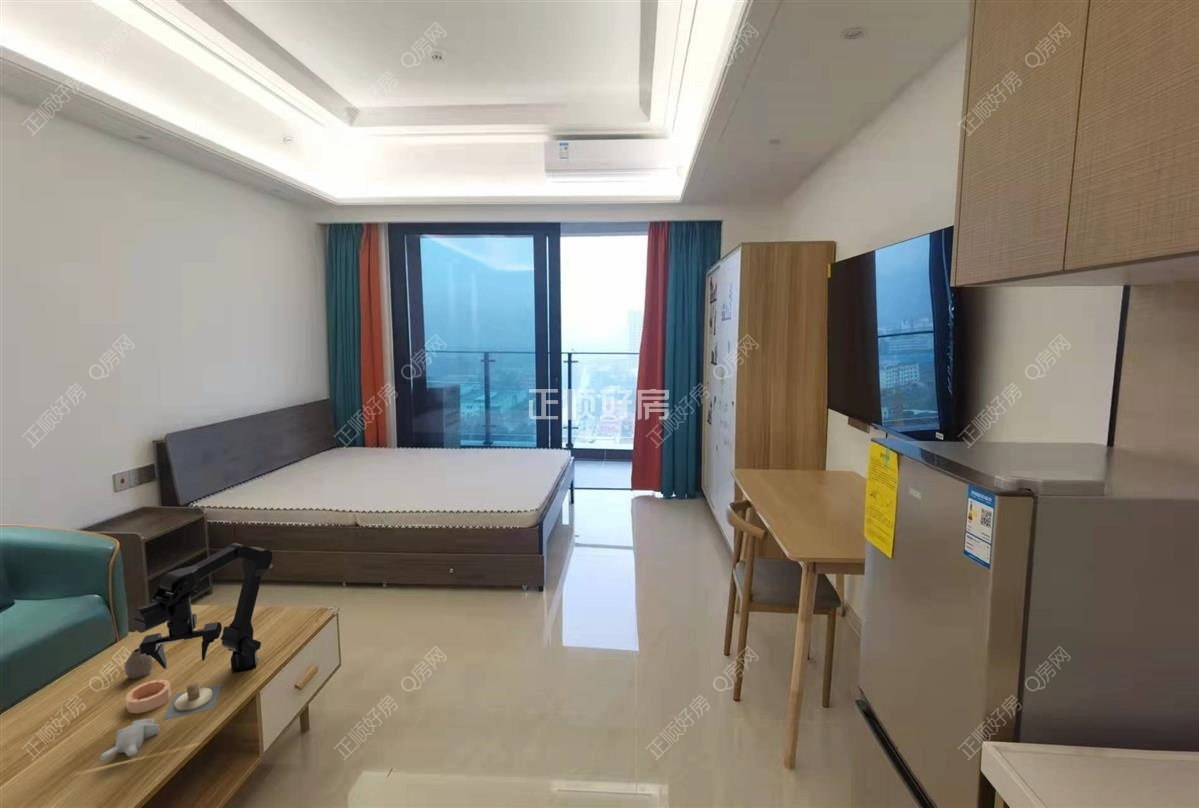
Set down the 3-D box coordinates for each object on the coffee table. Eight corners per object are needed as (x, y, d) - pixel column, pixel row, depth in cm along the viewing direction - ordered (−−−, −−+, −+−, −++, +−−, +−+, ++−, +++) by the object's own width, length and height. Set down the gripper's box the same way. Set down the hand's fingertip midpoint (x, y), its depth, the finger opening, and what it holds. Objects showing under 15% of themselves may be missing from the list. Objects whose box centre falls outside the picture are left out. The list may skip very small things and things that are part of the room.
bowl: (175, 688, 170) (174, 676, 169) (165, 709, 161) (163, 696, 160) (134, 696, 165) (133, 684, 165) (122, 718, 156) (120, 705, 156)
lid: (215, 687, 169) (214, 672, 168) (208, 706, 161) (207, 690, 160) (179, 695, 165) (178, 680, 165) (171, 714, 157) (169, 698, 157)
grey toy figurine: (166, 710, 154) (138, 743, 140) (167, 728, 155) (138, 762, 140) (126, 716, 152) (93, 750, 137) (126, 734, 152) (94, 770, 138)
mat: (222, 685, 171) (222, 683, 171) (213, 710, 160) (213, 708, 160) (175, 695, 166) (175, 693, 166) (163, 721, 156) (162, 719, 155)
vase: (137, 683, 171) (134, 657, 170) (120, 680, 173) (117, 655, 172) (159, 670, 178) (156, 645, 177) (142, 667, 180) (139, 642, 178)
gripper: (222, 595, 171) (226, 641, 174) (147, 608, 163) (152, 657, 165) (216, 612, 161) (220, 661, 164) (135, 627, 153) (141, 678, 155)
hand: (184, 663), depth 162 cm, fingers open, 9 cm apart
